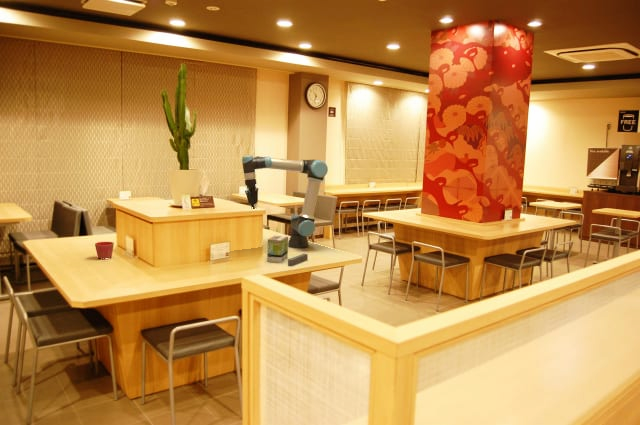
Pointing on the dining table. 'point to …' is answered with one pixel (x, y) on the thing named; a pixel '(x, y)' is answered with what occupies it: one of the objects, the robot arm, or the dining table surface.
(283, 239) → the tea box
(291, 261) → the rail
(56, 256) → the dining table surface
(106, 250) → the flower pot
